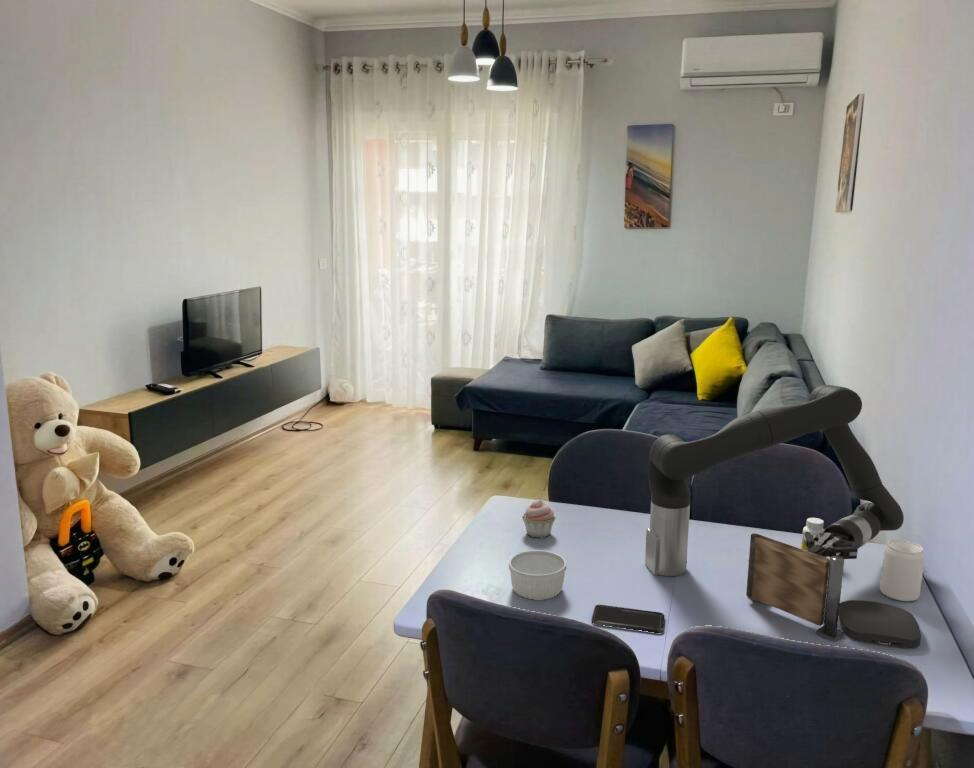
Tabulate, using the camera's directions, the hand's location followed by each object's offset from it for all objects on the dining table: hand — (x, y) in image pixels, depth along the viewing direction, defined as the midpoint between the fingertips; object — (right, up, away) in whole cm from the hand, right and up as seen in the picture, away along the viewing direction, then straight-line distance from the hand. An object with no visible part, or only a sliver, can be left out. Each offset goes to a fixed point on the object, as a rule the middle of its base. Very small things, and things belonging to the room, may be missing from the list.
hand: (811, 556), depth 173 cm
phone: (-42, -13, -6) cm, 44 cm away
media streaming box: (+10, -14, -9) cm, 19 cm away
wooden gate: (-8, -11, -4) cm, 14 cm away
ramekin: (-60, -10, +8) cm, 62 cm away
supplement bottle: (+11, -6, +25) cm, 28 cm away
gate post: (-6, -12, -4) cm, 14 cm away
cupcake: (-58, -3, +39) cm, 70 cm away
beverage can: (+22, -10, +5) cm, 25 cm away
